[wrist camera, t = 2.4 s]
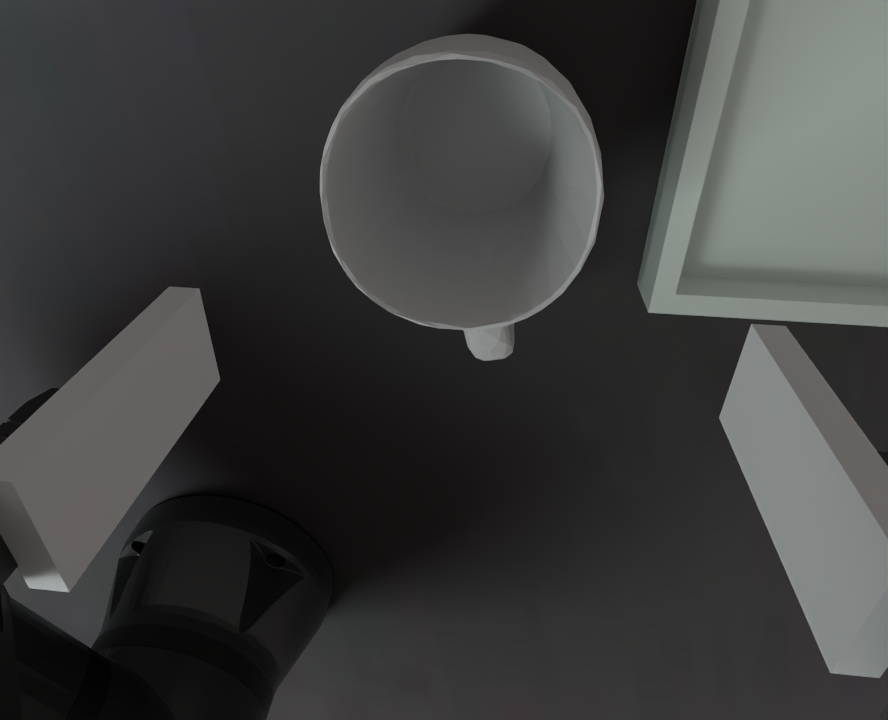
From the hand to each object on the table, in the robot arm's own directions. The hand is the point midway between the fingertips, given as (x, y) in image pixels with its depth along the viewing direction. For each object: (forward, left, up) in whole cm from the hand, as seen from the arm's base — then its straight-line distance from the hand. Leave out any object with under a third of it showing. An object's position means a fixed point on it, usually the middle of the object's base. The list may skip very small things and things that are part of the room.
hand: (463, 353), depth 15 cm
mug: (0, 0, -16) cm, 16 cm away
